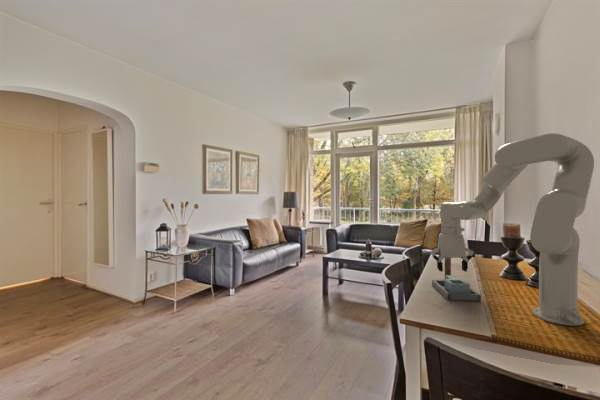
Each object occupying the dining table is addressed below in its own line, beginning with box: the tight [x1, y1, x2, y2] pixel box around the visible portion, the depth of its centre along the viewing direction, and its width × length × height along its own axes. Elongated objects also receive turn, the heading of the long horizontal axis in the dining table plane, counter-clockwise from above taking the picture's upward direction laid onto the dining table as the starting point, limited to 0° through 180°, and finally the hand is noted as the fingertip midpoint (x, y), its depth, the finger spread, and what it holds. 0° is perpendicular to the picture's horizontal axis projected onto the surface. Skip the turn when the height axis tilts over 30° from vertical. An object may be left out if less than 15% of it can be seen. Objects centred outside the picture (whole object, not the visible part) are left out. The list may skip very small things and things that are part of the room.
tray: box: [431, 279, 482, 303], centre depth 121 cm, size 19×12×2 cm, turn 172°
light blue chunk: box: [444, 274, 471, 294], centre depth 121 cm, size 7×13×5 cm, turn 172°
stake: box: [444, 258, 452, 276], centre depth 137 cm, size 3×3×13 cm
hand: (452, 270), depth 125 cm, fingers open, 9 cm apart
